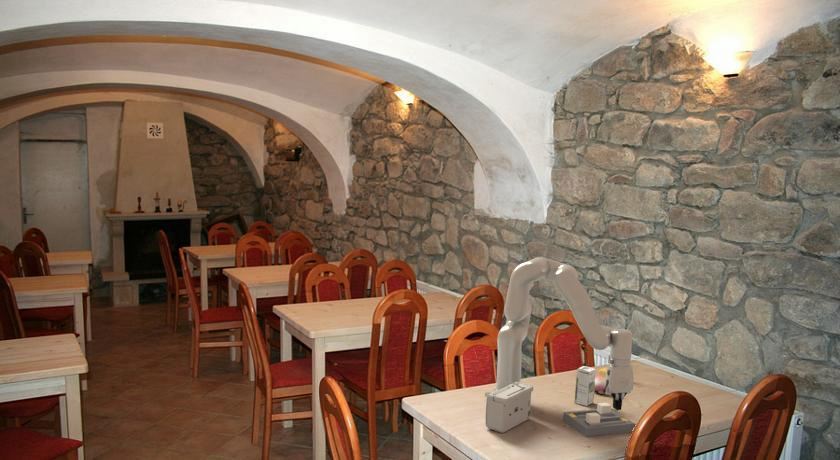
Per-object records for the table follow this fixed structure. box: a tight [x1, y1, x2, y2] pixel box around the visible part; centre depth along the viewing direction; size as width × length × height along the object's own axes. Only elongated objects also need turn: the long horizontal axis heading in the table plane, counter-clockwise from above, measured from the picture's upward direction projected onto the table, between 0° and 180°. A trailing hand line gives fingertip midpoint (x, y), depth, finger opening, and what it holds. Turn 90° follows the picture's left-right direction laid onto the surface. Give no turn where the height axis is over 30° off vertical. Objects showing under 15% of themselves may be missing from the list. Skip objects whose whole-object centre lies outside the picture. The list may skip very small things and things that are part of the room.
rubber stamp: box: [598, 354, 610, 378], centre depth 299 cm, size 10×6×12 cm, turn 44°
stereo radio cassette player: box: [485, 378, 534, 434], centre depth 241 cm, size 21×8×20 cm, turn 141°
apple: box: [594, 374, 606, 395], centre depth 280 cm, size 8×8×7 cm
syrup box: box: [574, 365, 597, 407], centre depth 266 cm, size 6×6×14 cm
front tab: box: [586, 413, 600, 424], centre depth 238 cm, size 4×3×3 cm
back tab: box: [596, 402, 612, 413], centre depth 248 cm, size 4×3×3 cm
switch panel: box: [562, 408, 635, 438], centre depth 243 cm, size 20×16×4 cm
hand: (617, 408), depth 250 cm, fingers closed
